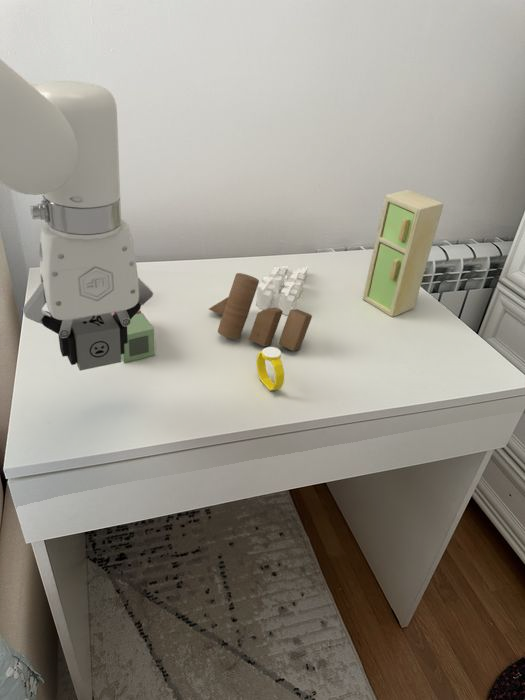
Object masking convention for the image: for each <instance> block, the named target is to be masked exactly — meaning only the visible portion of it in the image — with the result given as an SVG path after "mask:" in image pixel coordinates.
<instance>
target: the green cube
mask: <svg viewBox="0 0 525 700" xmlns="http://www.w3.org/2000/svg"><path fill="white" fill-rule="evenodd" d="M152 325H153V324H151V323H150V321H149V320H148V319H147V317H146V316H145V314H144V313H143V312H141V313H139V314H135V315H134V316H133V317H132V318H131V323H130V324H129V325H128V326H127V337H128V343H127V344H124V350H125V353H124V354H121V362H122V363H124V364H125V363H130V362H134V361H138V360H141V359H145V358H149V357H153V356H155V355H156V351H155V350H156V349H155V348H156V346H155V328H154V326H152Z"/></svg>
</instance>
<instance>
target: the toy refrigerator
mask: <svg viewBox="0 0 525 700" xmlns="http://www.w3.org/2000/svg"><path fill="white" fill-rule="evenodd" d="M443 208H444V203H443V202H441V201H439V200H436V199H434V198H432V197H429V196H427V195H424V194H423V193H419V192H417V191H414V190H411V189H405V190H399V191H395V192H392V193H387V194H385V196H384V199H383V203H382V207H381V212H380V217H379V222H378V226H377V231H376V236H375V239H374V245H373V249H372V254H371V258H370V259H371V260H370V263H369V268H368V272H367V277H366V280H365V281H366V282H365V285H364V291H363V295H362V300H364V301H365V302H367V303H368V304H370V305H372V306H373V307H375V308H377V309H378V310H380V311H382V312H383V313H385V314H386V315H388V316H390V317H396V316H399V315H401V314H404V313H406V312H408V311H410V310H411V311H412V310H413V309H414V308H415V307H416V303H417V299H418V296H419V293H420V288H421V285H422V282H423V280H424V279H423V278H424V275H425V272H426V268H427V265H428V261H429V257H430V253H431V250H432V248H433V243H434V241H435V240H434V239H435V237H436V232H437V231H438V230H437V229H438V225H439V222H440V219H441V216H442V213H443Z"/></svg>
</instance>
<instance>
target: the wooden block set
mask: <svg viewBox="0 0 525 700" xmlns="http://www.w3.org/2000/svg"><path fill="white" fill-rule="evenodd" d="M259 280H260V279H258V278H257V277H254V276H252V275H249V274H246V273H241V272H237V273H236V274H235V276H234V279H233V282H232V284H231V288H230V291H229V294H228V297H225V298H224V299H222V300H221V301H219V302H218V303H216V304H214V305H212V306H211V307H209V308H208V310H209V311H211V312H213V313H216V314H218V315H220V316H221V319H220V322H219V325H218V329H217V333H218V334H219V335H220V336H222V337H224V338H226V339H231V340H239V339H241V337H242V334H243V331H244V328H245V325H246V322H247V319H248V316H249V313H250V310H251V307H252V304H253V301H254V298H255V296H256V293H257V288H258V286H259V284H260V281H259ZM282 312H283V311H282V310H280V309H279V307H269V308H267V309H265V310H263V309H262V310H261V311H260V312H257V313H256V316H255V319H254V322H253V325H252V328H251V331H250V334H249V336H248V340H249V341H251V342H254V343H256V344H258V345H259V346H262V347H266V346H267V347H268V346H270V345H272V344H273V341H274V338H275V335H276V332H277V329H278V326H279V323H280V320H281V318H282V315H283V314H282ZM312 318H313V315H312V314H310V313H309V312H306V311H304V310H300V309H299V308H294V309H293V310H290V312H289V315H287V318H286V321H285V323H284V326H283V329H282V332H281V334H280V337H279V340H278V343H277V344H278V345H279V346H281V347H283V348H286V349H288V350H290V351H292V352H296V351H298V350H300V349H301V348H302V346H303V343H304V340H305V337H306V335H307V331H308V329H309V326H310V323H311V321H312Z"/></svg>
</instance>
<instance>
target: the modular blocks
mask: <svg viewBox="0 0 525 700" xmlns="http://www.w3.org/2000/svg"><path fill="white" fill-rule="evenodd" d="M288 269H289V266H288V265H282V267H281V266H273V267H272V269H271V270H270V272H269V275H268V276H266V275H265V276H264V277H263V279H262V281H261V282H259V283H258V286H257V289H256V300H255V306H257V307H258V309H259V310H262V311H263V310H265V309H267V308H271V305H272V307H274V305H273V302H274V300H275V294H278V295H279V292H280V295H279V296H278V298H279V304H278V309H280V310H282V311H283V312H282V315H285V316H288V315H289V312H290V310H293V309H295V307H296V304H297V299H299V298H300V296H301V292H302V290H303V288H304V283H305V282H304V281H305V280H306V277H307V275H308V269H309V268H308V266H304V265H303V266H301V268H299V267H296V270H292V272H291V275H290V276H289V281H288V275H286V273H287V272H288Z"/></svg>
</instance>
